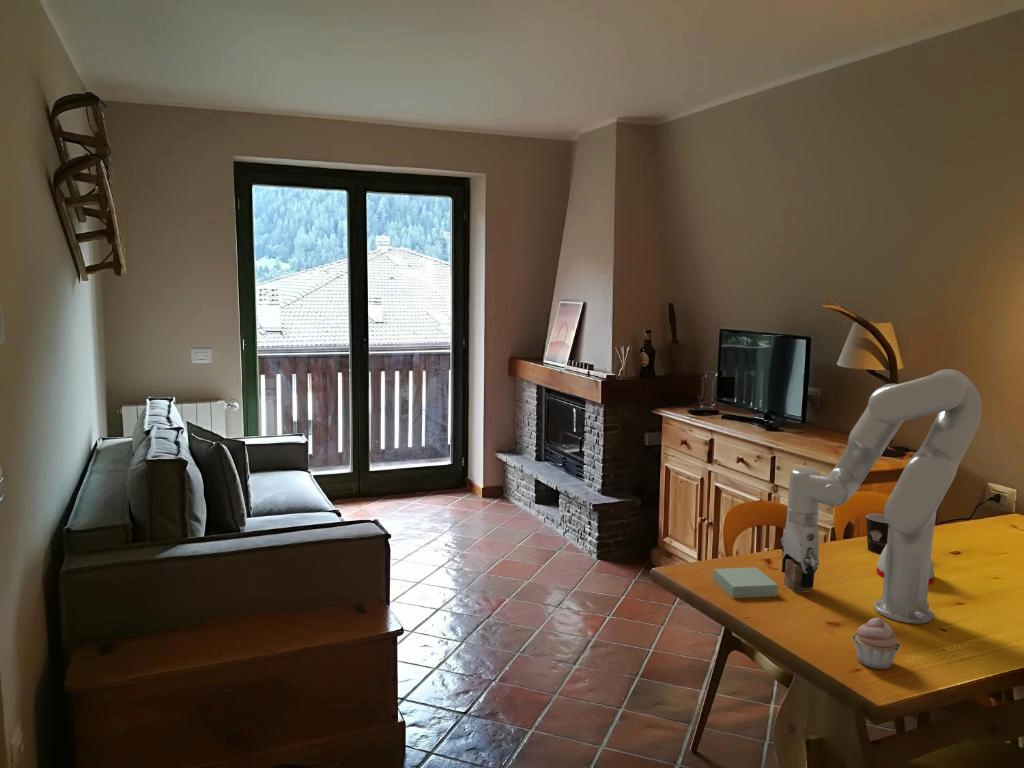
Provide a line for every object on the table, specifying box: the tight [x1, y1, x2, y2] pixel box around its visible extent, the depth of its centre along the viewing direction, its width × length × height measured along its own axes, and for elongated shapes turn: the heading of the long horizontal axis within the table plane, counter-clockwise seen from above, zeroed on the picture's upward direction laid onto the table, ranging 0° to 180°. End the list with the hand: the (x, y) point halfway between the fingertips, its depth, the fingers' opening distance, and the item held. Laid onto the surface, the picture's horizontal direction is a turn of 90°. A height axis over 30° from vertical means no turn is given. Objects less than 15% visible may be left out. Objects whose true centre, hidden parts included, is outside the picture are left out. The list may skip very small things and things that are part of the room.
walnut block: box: [783, 559, 813, 593], centre depth 196 cm, size 5×5×7 cm
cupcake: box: [850, 617, 902, 670], centre depth 157 cm, size 9×9×10 cm
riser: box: [712, 567, 779, 599], centre depth 196 cm, size 12×12×3 cm
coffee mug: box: [865, 513, 889, 555], centre depth 224 cm, size 12×9×10 cm
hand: (796, 579), depth 197 cm, fingers open, 9 cm apart
